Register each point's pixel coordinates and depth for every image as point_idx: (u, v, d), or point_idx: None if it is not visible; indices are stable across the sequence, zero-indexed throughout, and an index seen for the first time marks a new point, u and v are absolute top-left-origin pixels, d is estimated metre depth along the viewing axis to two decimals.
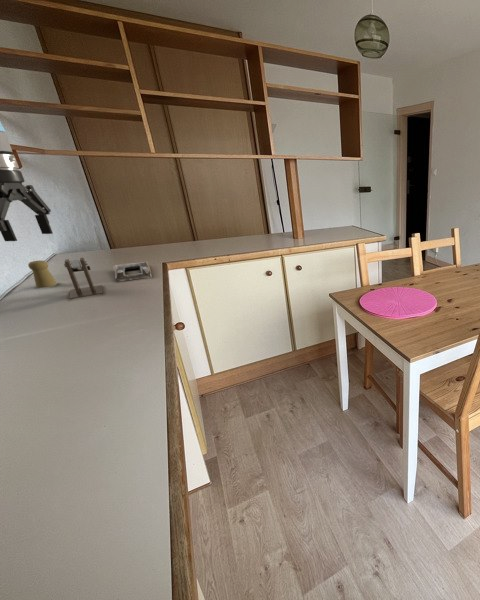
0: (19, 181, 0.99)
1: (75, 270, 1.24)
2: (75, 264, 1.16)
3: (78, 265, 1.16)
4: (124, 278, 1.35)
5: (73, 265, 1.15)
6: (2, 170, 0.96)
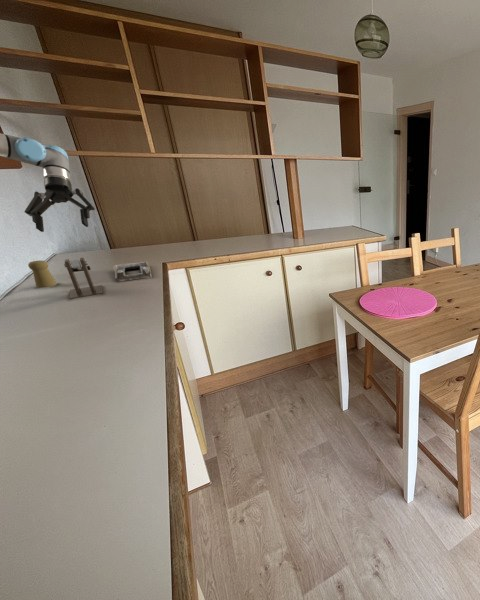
0: None
1: (75, 270, 1.24)
2: (75, 264, 1.16)
3: (78, 265, 1.16)
4: (124, 278, 1.35)
5: (73, 265, 1.15)
6: None
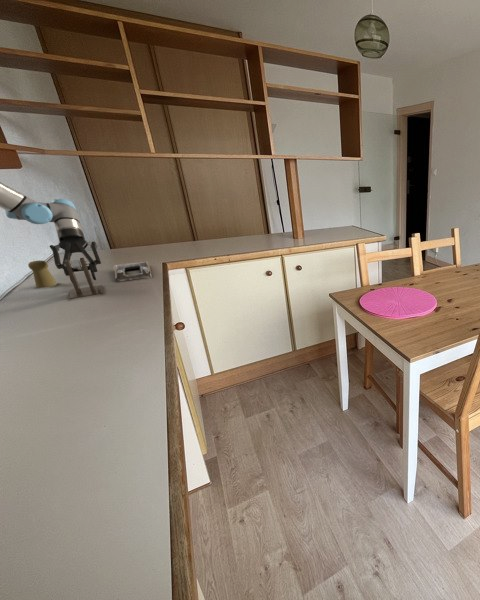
0: None
1: (75, 270, 1.24)
2: (75, 264, 1.16)
3: (78, 265, 1.16)
4: (124, 278, 1.35)
5: (73, 265, 1.15)
6: None
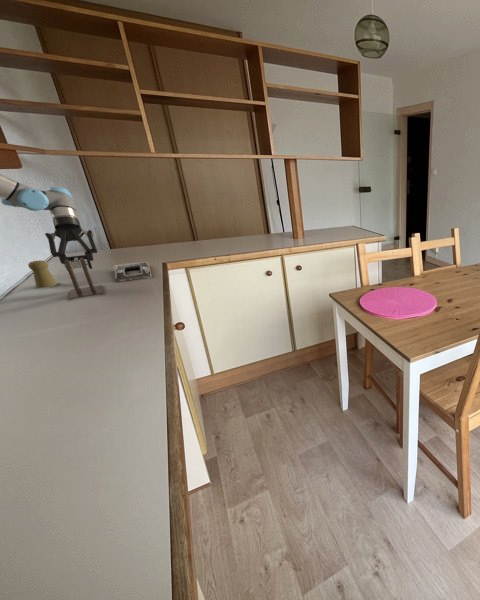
0: None
1: (71, 260, 1.23)
2: (76, 265, 1.16)
3: (79, 266, 1.17)
4: (124, 278, 1.35)
5: (74, 266, 1.16)
6: None
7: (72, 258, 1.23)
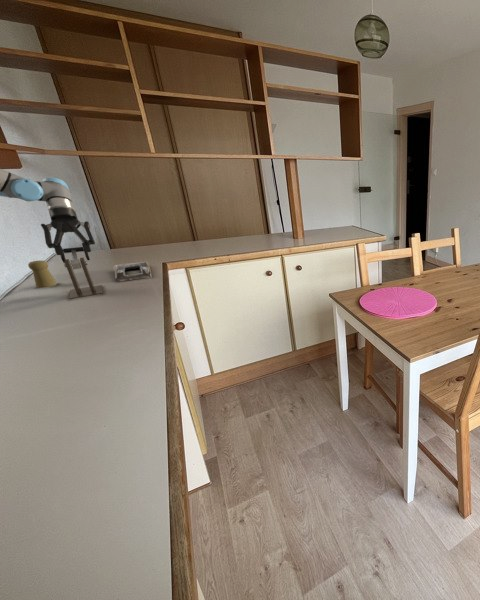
0: None
1: (68, 252, 1.22)
2: (76, 266, 1.16)
3: (79, 267, 1.17)
4: (124, 278, 1.35)
5: (74, 267, 1.16)
6: None
7: (69, 250, 1.21)
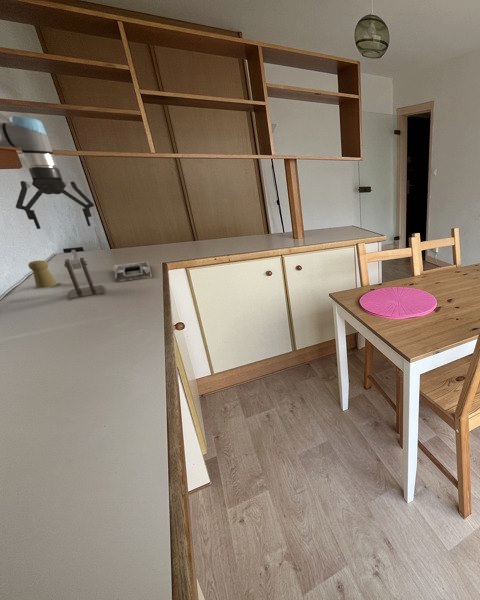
0: None
1: (68, 252, 1.22)
2: (76, 266, 1.16)
3: (79, 267, 1.17)
4: (124, 278, 1.35)
5: (74, 267, 1.16)
6: None
7: (69, 250, 1.21)
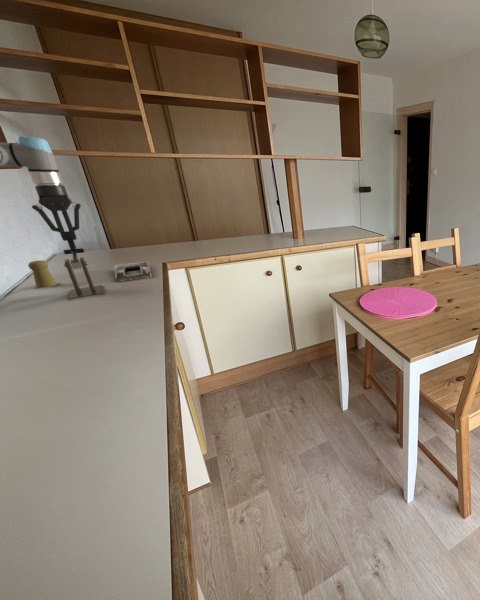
0: None
1: (69, 253, 1.22)
2: (76, 266, 1.16)
3: (79, 267, 1.17)
4: (124, 278, 1.35)
5: (74, 267, 1.16)
6: None
7: (69, 252, 1.22)
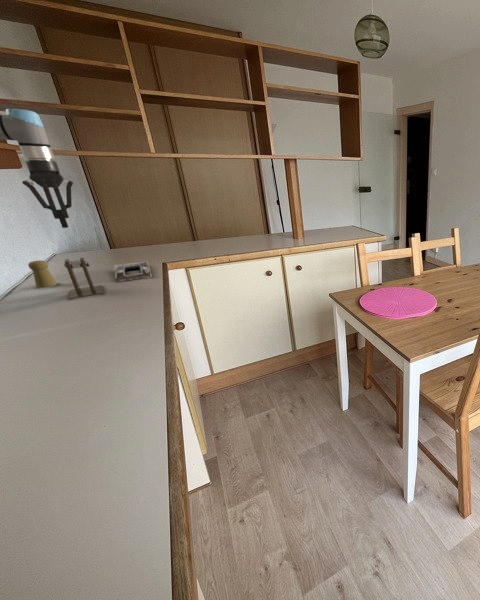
0: None
1: None
2: (75, 265, 1.16)
3: (78, 266, 1.16)
4: (124, 278, 1.35)
5: (73, 266, 1.15)
6: None
7: None
